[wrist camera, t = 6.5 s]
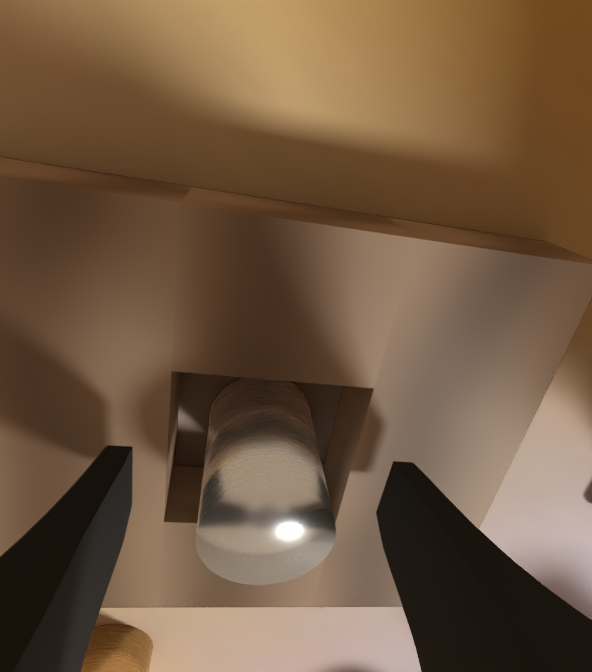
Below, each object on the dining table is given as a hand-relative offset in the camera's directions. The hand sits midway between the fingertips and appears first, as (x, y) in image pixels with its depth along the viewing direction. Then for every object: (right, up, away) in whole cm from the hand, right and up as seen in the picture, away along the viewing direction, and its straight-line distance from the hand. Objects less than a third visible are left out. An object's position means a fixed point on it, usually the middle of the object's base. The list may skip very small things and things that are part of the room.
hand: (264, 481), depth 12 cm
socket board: (0, +1, +3) cm, 3 cm away
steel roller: (0, +1, +3) cm, 3 cm away
